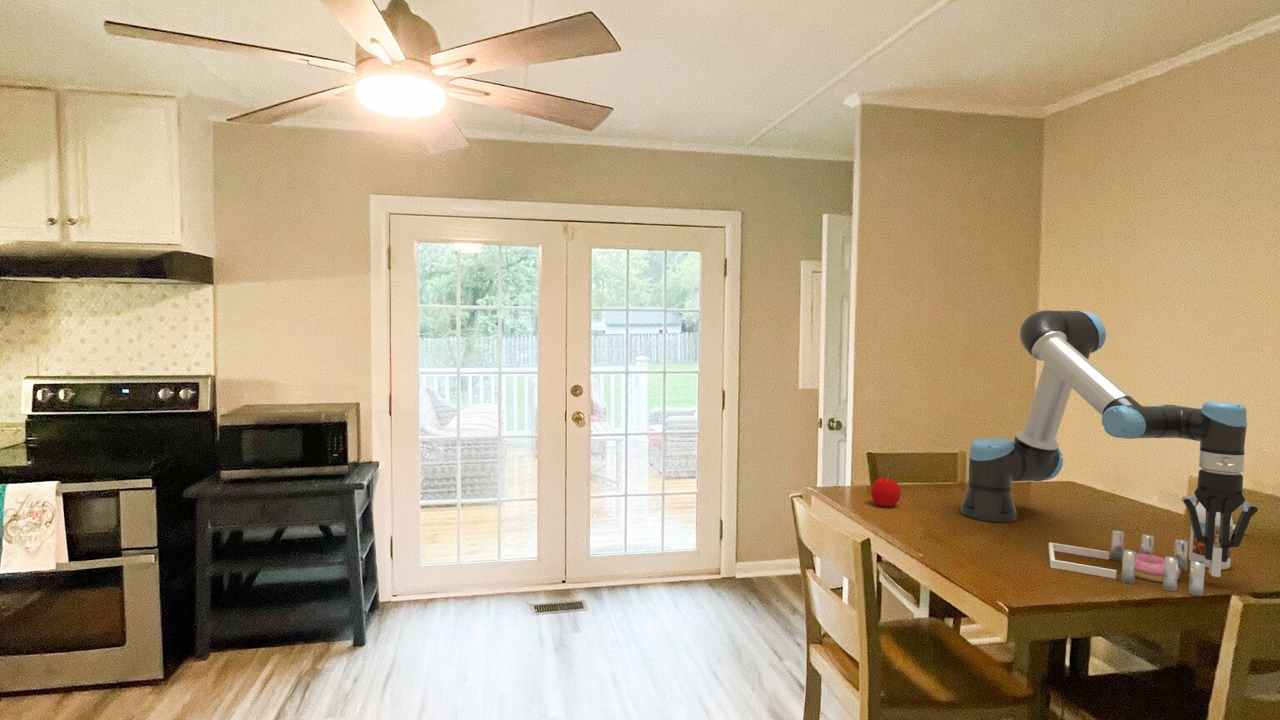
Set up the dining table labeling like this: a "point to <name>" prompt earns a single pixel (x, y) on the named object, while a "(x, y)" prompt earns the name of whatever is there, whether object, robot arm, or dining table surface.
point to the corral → (1080, 567)
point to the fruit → (885, 492)
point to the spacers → (1169, 563)
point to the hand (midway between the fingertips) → (1214, 574)
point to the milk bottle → (1197, 547)
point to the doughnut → (1150, 567)
